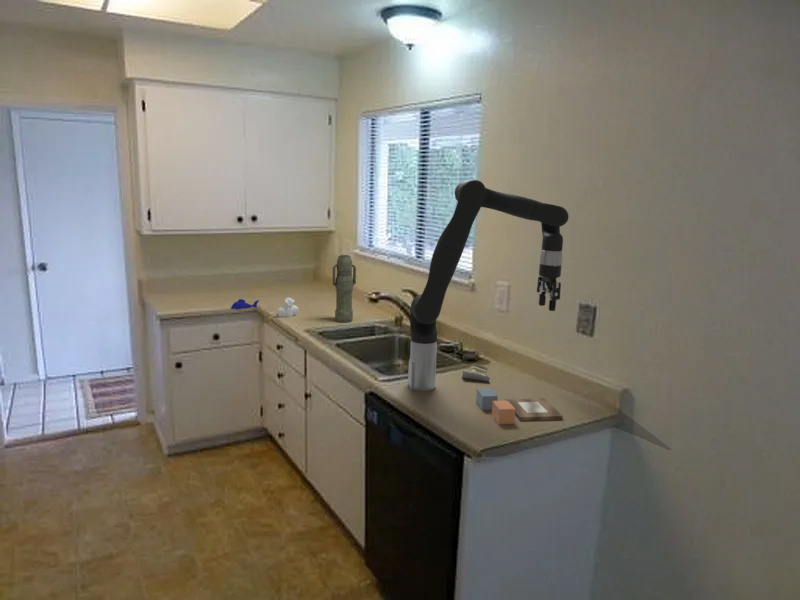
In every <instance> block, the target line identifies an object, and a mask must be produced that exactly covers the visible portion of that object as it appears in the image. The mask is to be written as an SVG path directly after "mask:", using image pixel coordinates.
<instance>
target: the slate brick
mask: <svg viewBox="0 0 800 600" xmlns="http://www.w3.org/2000/svg"><path fill="white" fill-rule="evenodd" d="M498 399H499V397H498V395H497V393H496V392H495V391H494V390H493V388H476V396H475V402H476V404H477V405H478V407H479V409H480V410H481V411H492V401H499V400H498Z"/></svg>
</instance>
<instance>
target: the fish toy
mask: <svg viewBox="0 0 800 600" xmlns="http://www.w3.org/2000/svg"><path fill="white" fill-rule="evenodd" d="M259 301H260V300H259V299H257V300H255V301H254V302H253V304H251V303H248V302H246V300H245V299H243V298H240V299H238V300H237V301H235V302H233V304H232V305H231V307H230V308H231V309H232V310H233V309H234V310H237V311H238V310H241V309H249V308H252V307H253V308H258V303H259Z"/></svg>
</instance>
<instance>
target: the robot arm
mask: <svg viewBox="0 0 800 600" xmlns="http://www.w3.org/2000/svg"><path fill="white" fill-rule="evenodd" d="M454 198H455V200H456V201H457V203H456V206H455V209H454V212H453V214H452V217H451V219H450V220H449V222H448V223H447V225H446V227H445V228H444V229H443V231H442V232H441V234H440V236H439V237H438V239H437V243H436V245H435V248H434V250H433V253H432V256H431V259H430V265H429V272H428V278H427V281H426V283H425V286H424V288H423V291H422V293H421V294H419V295H416V296H415V297H414V298H413V299H412V301H411V304H410V310H409V311H410V312H409V313H410V316H409V317H410V318H409V330H410V349H409V350H410V351H409V353H410V355H409V359H408V374H407V375H408V376H407V377H408V378H407V380H408V381H407V385H408V386H409V389H410V391H418V392H429V391H432V390H434V389H435V388H436V374H437V372H436V371H437V352H438V351H437V350H438V348H437V346H438V344H437V343H438V330H437V319H438V318H439V317H440V314H441V312H442V311H441V310H442V307H443V303H444V300H445V296H446V292H447V290H448V288H449V285H450V283H451V281H452V279H453V276H454V274H455V271H456V269H457V267H458V266H459V265H458V264H459V262H460V259H461V257H462V255H463V253H464V250H465V246H466V244H467V241H468V239H469V236H470V233H471V231H472V226H473V224H474V222H475V220H476V218H477V217H478V214H479V212H480V211H481V208H485V209H490V210H495V211H498V212H500V213H501V212H502V213H504V214H506V215H511V216H513V217H517V218H521V219H524V220H527V221H528V220H529V221H534V222H539V223H540V224H541V234H542V240H541V242H542V243H541V252H540V257H539V266H538V277H537V286H536V293H538V296H539V297H538V298H539V299H538V305H539V306H541V307H543V306H545V305H546V299H547V296H546V295H548V298H549V301H548V311H550V312H555V311H556V306H557V305H556V304H557V301H560V300H561V288H562V287H561V286H562V285H561V284H562V283H561V282H558V281H557V279H558V278H560V277H561V275H562V265H563V247H564V246H563V245H564V244H563V243H564V237H563V235H562V234H561V229H560V227H563V226H564V225H566V224H567V222H568V221H569V212H568V210H567V209H566V208H564V207H563V206H560V205H556V204H551V203H547V202H541V201H539V200H536V199H533V198H529V197H524V196H522V195H521V196H520V195H515V194H510V193H505V192H500V191H497V190H493V189H491V188H488V187H486V186H485V184H484V183H483V182H482V181H480V180H478V179H473V178H472V179H463V180H462V181H461V182H459V183H458V184H457V185H456V187H455V189H454Z"/></svg>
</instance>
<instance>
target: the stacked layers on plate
mask: <svg viewBox="0 0 800 600" xmlns="http://www.w3.org/2000/svg"><path fill="white" fill-rule="evenodd" d="M488 369H489V368H488V367H486V366H483V365H481V364H477V363H472V364H471V365H470V366H469V367H468V371H464V370H462V375H461V379H462V378H464V379H468V380H469V379H470V380H476V381H482V382H483V381H484V382H488V383H489V381H490V377H487V373H488Z"/></svg>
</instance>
